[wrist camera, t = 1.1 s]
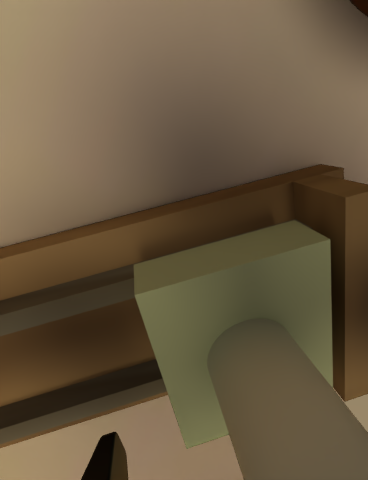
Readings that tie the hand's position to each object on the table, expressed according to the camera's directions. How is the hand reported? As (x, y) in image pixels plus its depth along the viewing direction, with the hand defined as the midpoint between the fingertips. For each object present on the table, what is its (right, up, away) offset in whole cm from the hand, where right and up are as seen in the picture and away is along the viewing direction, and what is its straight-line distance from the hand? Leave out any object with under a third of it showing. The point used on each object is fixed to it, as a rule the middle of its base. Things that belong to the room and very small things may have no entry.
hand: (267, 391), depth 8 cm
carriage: (-1, +1, +3) cm, 3 cm away
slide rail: (-6, +1, +5) cm, 8 cm away
